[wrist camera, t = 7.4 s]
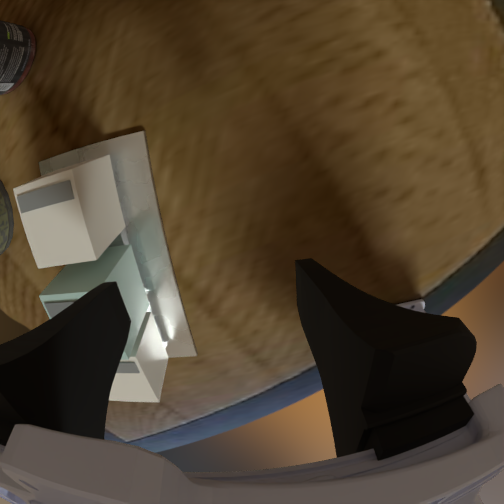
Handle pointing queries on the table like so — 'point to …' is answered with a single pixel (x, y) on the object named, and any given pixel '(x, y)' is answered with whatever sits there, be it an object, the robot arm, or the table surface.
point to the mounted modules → (90, 253)
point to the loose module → (93, 274)
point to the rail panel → (141, 231)
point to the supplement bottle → (15, 55)
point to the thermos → (5, 219)
